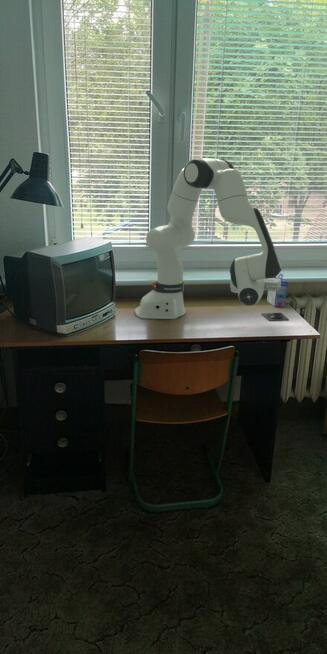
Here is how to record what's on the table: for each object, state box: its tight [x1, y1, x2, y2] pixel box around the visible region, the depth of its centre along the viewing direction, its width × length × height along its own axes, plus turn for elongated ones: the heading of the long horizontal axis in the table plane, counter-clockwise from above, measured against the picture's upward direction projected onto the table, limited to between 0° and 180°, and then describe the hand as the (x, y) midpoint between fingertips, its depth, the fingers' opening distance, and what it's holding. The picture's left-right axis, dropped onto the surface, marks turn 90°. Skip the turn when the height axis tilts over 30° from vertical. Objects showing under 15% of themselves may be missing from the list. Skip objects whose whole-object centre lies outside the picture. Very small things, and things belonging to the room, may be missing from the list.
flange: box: [261, 312, 290, 322], centre depth 214 cm, size 9×9×1 cm
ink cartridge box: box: [266, 272, 288, 308], centre depth 231 cm, size 10×6×14 cm, turn 10°
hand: (257, 278), depth 203 cm, fingers closed on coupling, 5 cm apart
